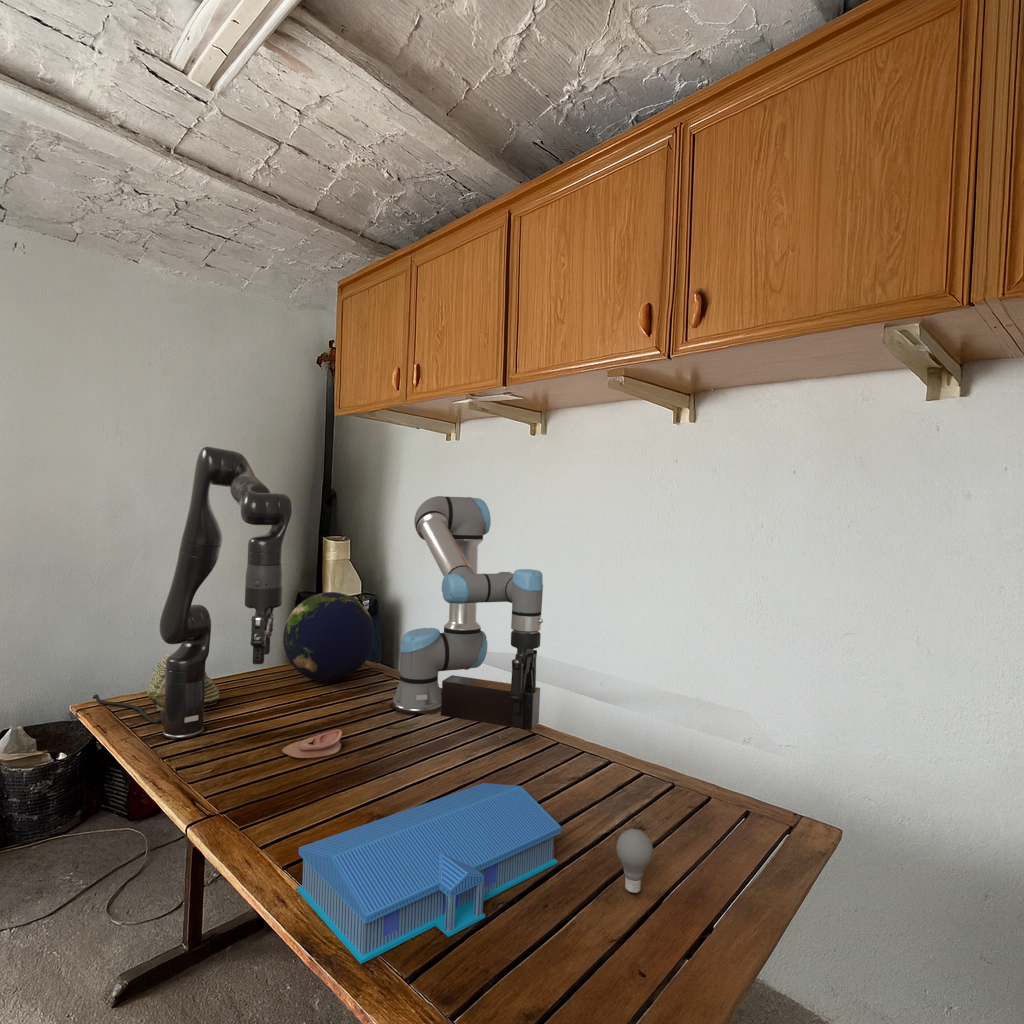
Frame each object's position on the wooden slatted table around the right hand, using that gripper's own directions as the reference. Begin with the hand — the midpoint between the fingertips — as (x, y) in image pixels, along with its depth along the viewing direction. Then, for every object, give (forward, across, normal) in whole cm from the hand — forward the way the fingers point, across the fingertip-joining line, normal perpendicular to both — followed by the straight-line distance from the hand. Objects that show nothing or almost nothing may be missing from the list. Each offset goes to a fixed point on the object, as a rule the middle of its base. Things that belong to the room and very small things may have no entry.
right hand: (522, 721), depth 161 cm
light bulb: (+9, -46, -35) cm, 59 cm away
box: (+1, 0, +9) cm, 9 cm away
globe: (+8, +31, +80) cm, 86 cm away
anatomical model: (+8, -20, +48) cm, 53 cm away
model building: (+9, -56, -4) cm, 57 cm away
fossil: (+8, -9, +101) cm, 102 cm away
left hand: (-19, -40, +47) cm, 65 cm away
